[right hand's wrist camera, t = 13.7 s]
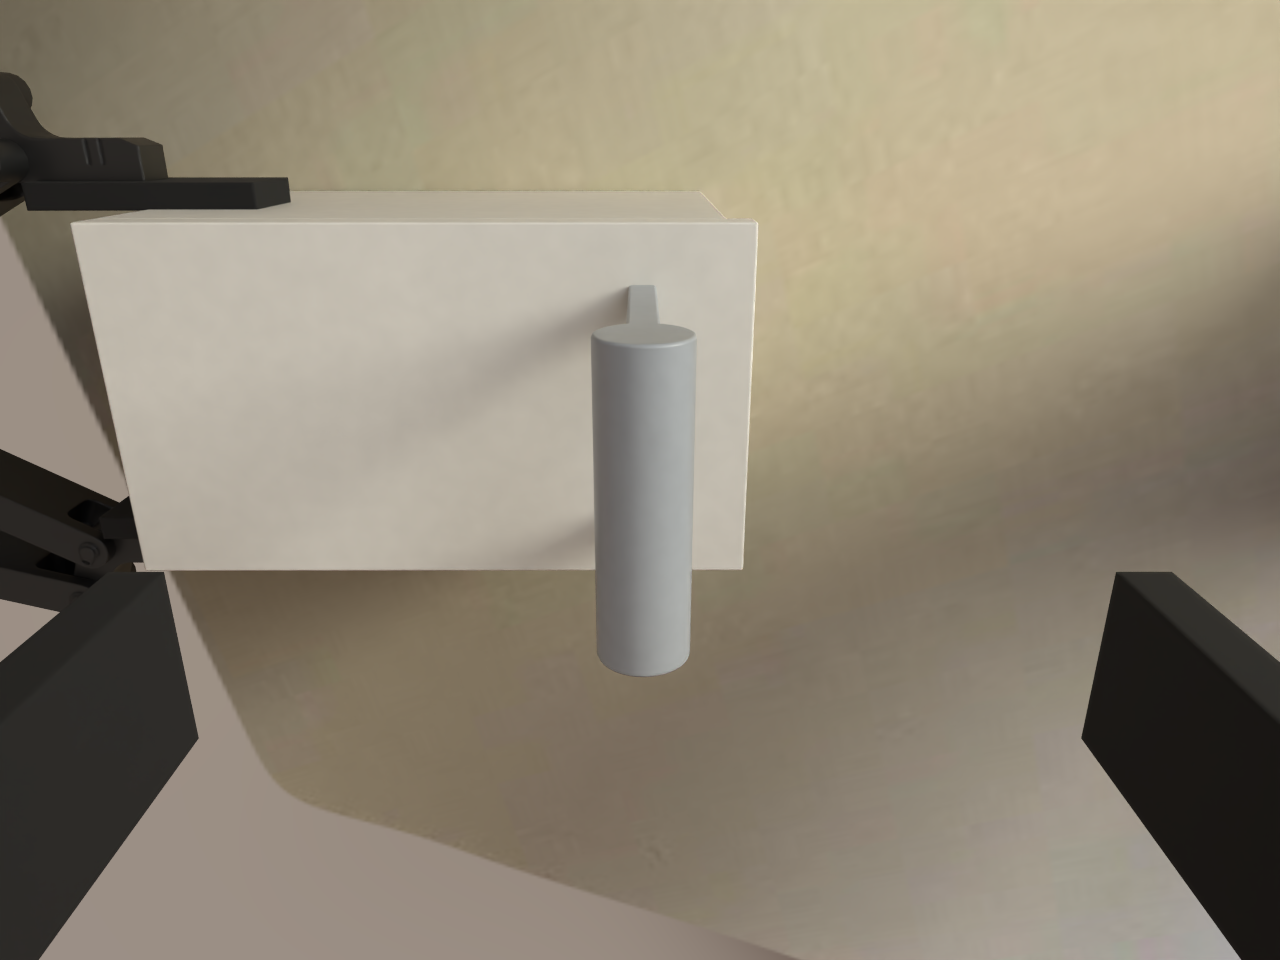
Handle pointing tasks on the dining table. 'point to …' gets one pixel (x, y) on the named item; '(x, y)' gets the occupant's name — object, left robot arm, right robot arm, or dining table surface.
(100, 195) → the left robot arm
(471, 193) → the chest
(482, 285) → the lid
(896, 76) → the dining table surface
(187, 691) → the right robot arm
